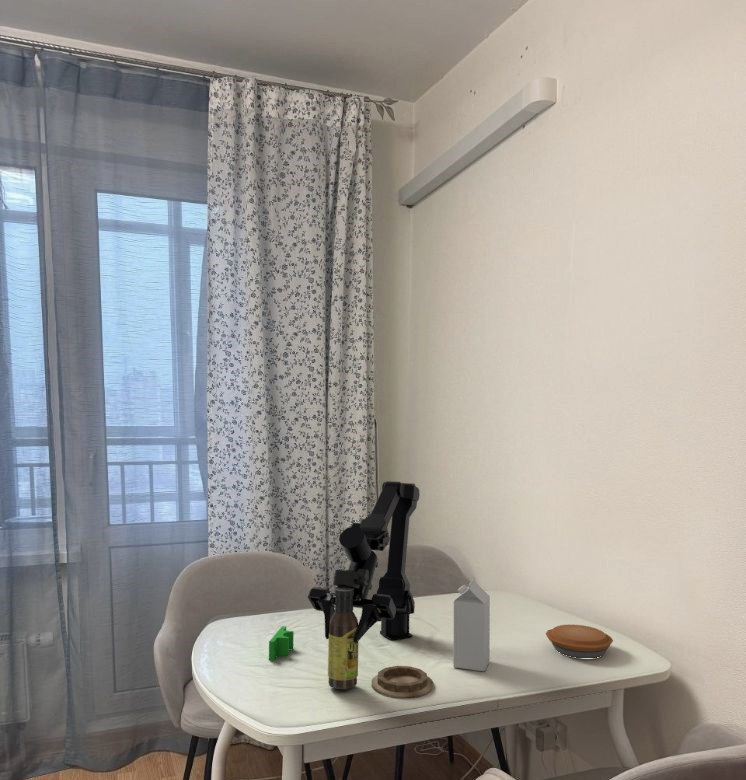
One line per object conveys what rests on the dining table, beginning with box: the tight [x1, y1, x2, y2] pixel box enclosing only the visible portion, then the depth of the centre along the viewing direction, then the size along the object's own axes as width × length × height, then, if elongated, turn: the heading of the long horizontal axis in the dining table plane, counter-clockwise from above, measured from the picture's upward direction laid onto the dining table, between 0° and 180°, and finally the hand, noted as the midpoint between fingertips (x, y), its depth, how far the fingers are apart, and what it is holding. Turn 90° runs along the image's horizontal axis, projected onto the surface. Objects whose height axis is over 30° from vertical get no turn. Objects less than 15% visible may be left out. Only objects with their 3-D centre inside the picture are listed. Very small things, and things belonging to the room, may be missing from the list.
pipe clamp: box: [268, 625, 295, 661], centre depth 156 cm, size 11×4×5 cm, turn 173°
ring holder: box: [371, 665, 434, 699], centre depth 138 cm, size 13×13×2 cm
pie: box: [545, 624, 614, 659], centre depth 159 cm, size 15×16×5 cm
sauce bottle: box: [327, 586, 359, 690], centre depth 136 cm, size 6×6×20 cm
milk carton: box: [452, 577, 491, 672], centre depth 150 cm, size 7×7×19 cm
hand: (340, 640), depth 135 cm, fingers closed on sauce bottle, 6 cm apart
